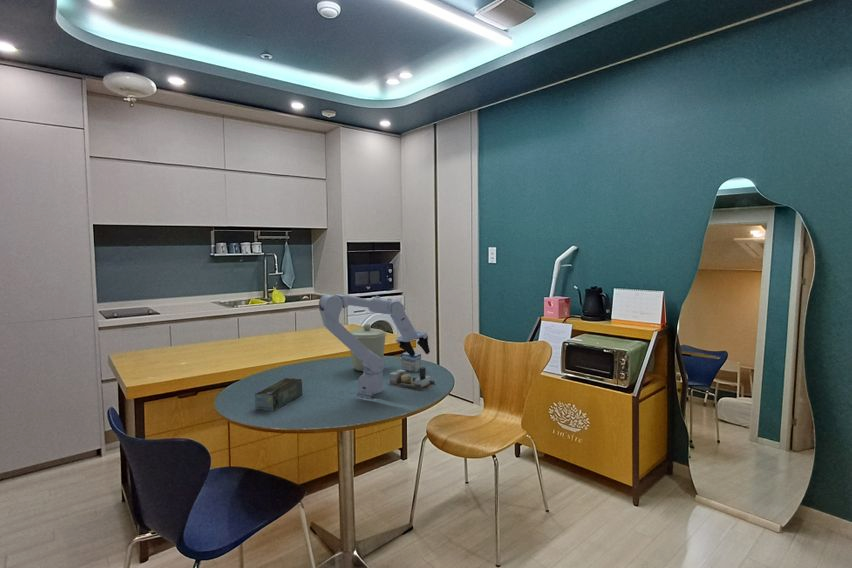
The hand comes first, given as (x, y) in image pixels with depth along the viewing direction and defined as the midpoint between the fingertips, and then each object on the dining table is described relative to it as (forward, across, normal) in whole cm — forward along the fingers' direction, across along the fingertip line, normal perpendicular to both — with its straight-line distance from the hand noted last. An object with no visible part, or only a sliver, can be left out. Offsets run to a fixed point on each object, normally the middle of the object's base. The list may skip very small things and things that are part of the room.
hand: (420, 354), depth 182 cm
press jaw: (+9, 0, +9) cm, 12 cm away
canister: (+7, +38, -5) cm, 39 cm away
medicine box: (+14, +18, -8) cm, 24 cm away
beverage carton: (-15, +35, +41) cm, 56 cm away
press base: (+9, +6, +9) cm, 14 cm away
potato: (+7, +7, +8) cm, 13 cm away
